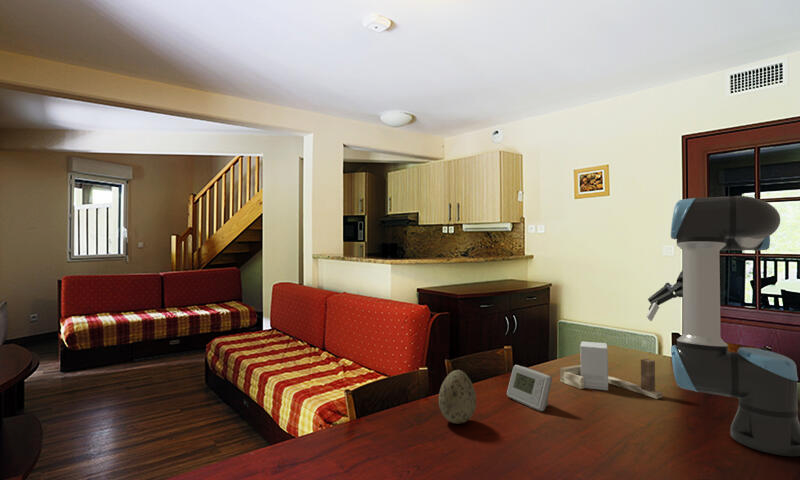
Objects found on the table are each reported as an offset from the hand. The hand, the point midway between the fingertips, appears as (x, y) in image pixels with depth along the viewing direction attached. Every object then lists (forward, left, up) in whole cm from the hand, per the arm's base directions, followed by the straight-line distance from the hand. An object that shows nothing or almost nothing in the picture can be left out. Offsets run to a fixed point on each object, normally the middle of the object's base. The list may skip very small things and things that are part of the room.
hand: (667, 321), depth 152 cm
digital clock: (-39, +38, -24) cm, 59 cm away
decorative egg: (-65, +51, -24) cm, 86 cm away
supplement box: (-9, +23, -24) cm, 34 cm away
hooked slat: (-11, +18, -24) cm, 31 cm away
